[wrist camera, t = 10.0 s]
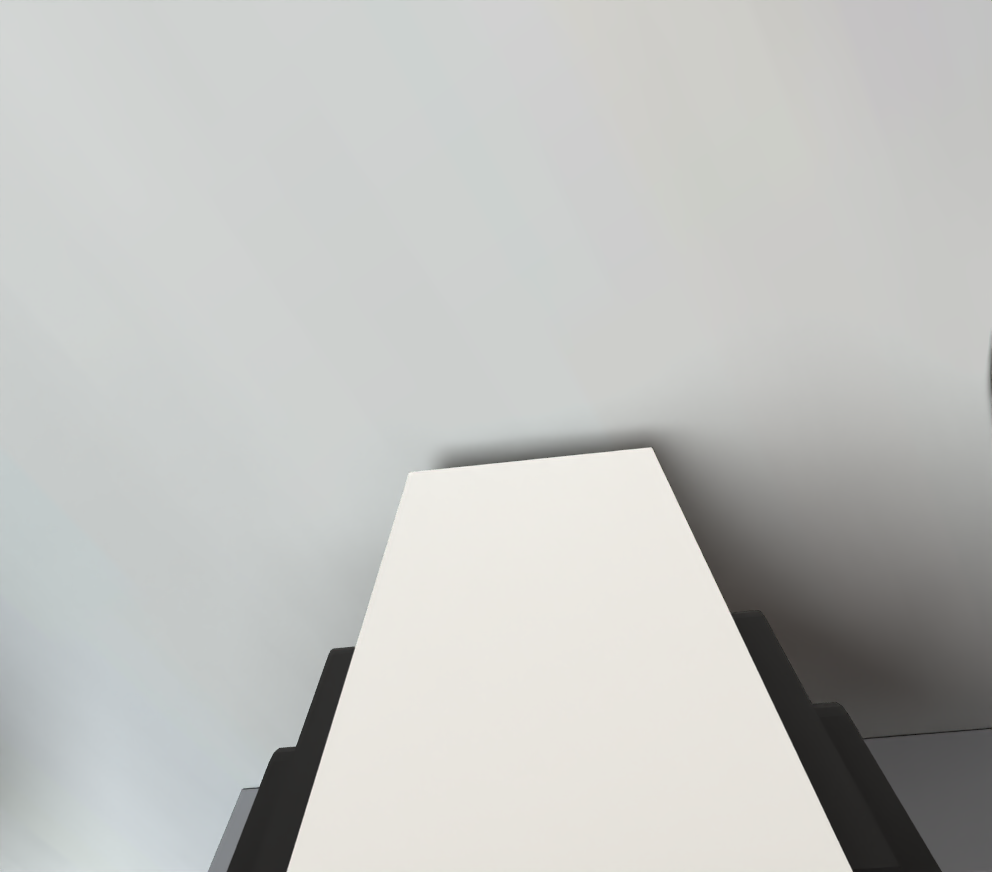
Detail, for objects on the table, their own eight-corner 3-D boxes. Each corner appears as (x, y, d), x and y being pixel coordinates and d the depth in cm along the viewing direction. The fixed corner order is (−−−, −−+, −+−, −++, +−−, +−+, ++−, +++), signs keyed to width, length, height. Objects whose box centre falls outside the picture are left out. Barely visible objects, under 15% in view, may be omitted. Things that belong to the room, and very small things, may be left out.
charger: (651, 447, 14) (1094, 1381, 3) (661, 649, 15) (977, 1696, 5) (409, 471, 14) (122, 1410, 4) (443, 668, 15) (314, 1697, 5)
